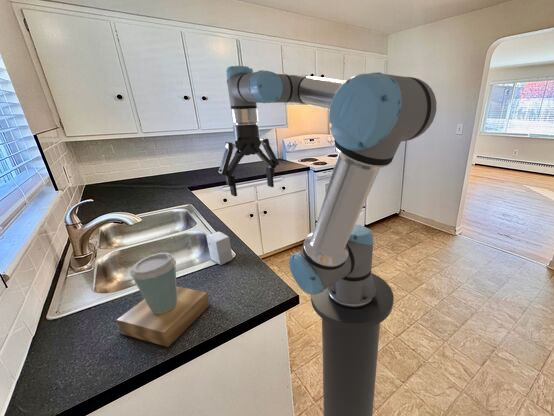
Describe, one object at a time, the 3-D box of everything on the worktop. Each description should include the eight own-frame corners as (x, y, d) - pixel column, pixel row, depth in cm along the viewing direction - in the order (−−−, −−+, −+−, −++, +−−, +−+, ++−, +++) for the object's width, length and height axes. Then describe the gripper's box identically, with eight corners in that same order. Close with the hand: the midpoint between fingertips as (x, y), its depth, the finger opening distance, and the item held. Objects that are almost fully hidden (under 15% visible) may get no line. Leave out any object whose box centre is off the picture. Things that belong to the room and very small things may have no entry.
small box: (233, 259, 108) (229, 236, 104) (220, 265, 104) (215, 241, 100) (223, 253, 113) (219, 230, 109) (210, 258, 109) (205, 235, 105)
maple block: (209, 305, 83) (206, 292, 82) (168, 347, 69) (164, 332, 67) (168, 296, 88) (164, 283, 86) (121, 334, 73) (116, 319, 72)
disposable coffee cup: (144, 325, 69) (128, 277, 64) (141, 302, 78) (127, 258, 72) (188, 308, 75) (177, 263, 70) (181, 288, 83) (171, 246, 78)
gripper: (273, 121, 92) (278, 181, 99) (199, 125, 76) (211, 196, 83) (286, 122, 87) (290, 185, 94) (209, 127, 71) (221, 202, 78)
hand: (253, 190), depth 89 cm, fingers open, 13 cm apart
